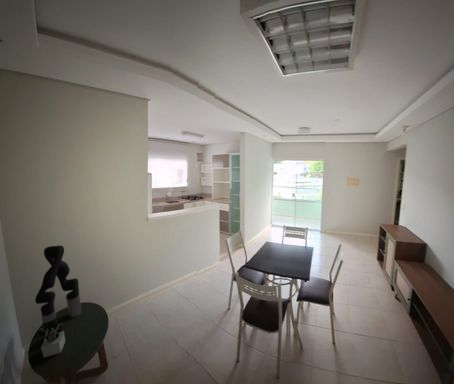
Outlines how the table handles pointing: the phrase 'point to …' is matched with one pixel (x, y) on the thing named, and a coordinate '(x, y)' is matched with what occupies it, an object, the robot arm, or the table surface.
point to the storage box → (54, 348)
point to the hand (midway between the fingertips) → (52, 338)
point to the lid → (52, 339)
